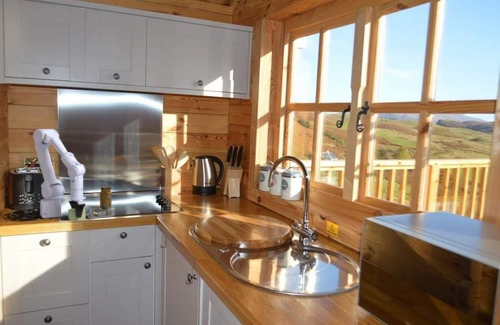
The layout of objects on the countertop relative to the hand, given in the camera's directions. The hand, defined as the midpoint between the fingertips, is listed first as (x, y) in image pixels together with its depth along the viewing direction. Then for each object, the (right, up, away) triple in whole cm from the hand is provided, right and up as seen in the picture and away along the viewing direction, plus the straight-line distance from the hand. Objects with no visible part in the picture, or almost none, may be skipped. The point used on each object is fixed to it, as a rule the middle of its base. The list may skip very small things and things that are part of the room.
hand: (76, 216), depth 205 cm
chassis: (+8, -1, +8) cm, 12 cm away
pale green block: (0, -2, 0) cm, 2 cm away
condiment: (+5, +1, +26) cm, 27 cm away
